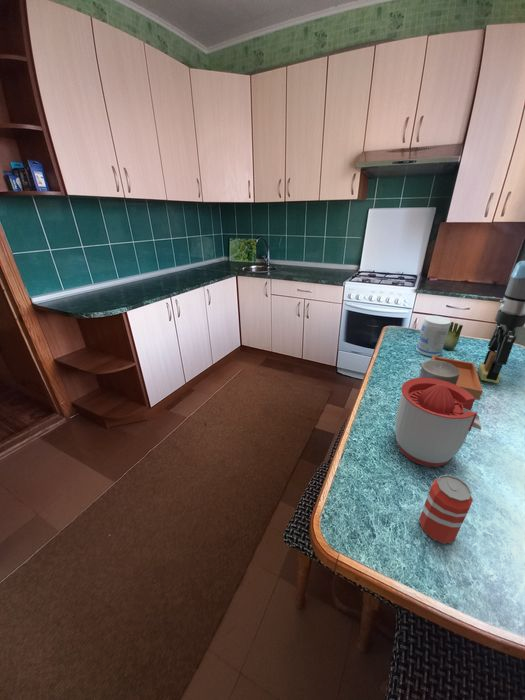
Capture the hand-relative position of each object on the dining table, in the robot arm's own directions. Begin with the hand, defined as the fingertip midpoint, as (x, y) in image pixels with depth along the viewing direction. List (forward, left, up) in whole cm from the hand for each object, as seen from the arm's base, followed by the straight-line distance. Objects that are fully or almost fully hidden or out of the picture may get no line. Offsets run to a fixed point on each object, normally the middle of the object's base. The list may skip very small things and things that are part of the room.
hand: (489, 373), depth 102 cm
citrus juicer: (+19, +47, -2) cm, 51 cm away
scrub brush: (0, 0, -1) cm, 1 cm away
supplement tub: (+18, -14, -2) cm, 23 cm away
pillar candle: (+18, +26, -2) cm, 32 cm away
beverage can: (+17, +68, -2) cm, 70 cm away
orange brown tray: (+11, +6, -2) cm, 13 cm away
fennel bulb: (+11, -21, -2) cm, 24 cm away
